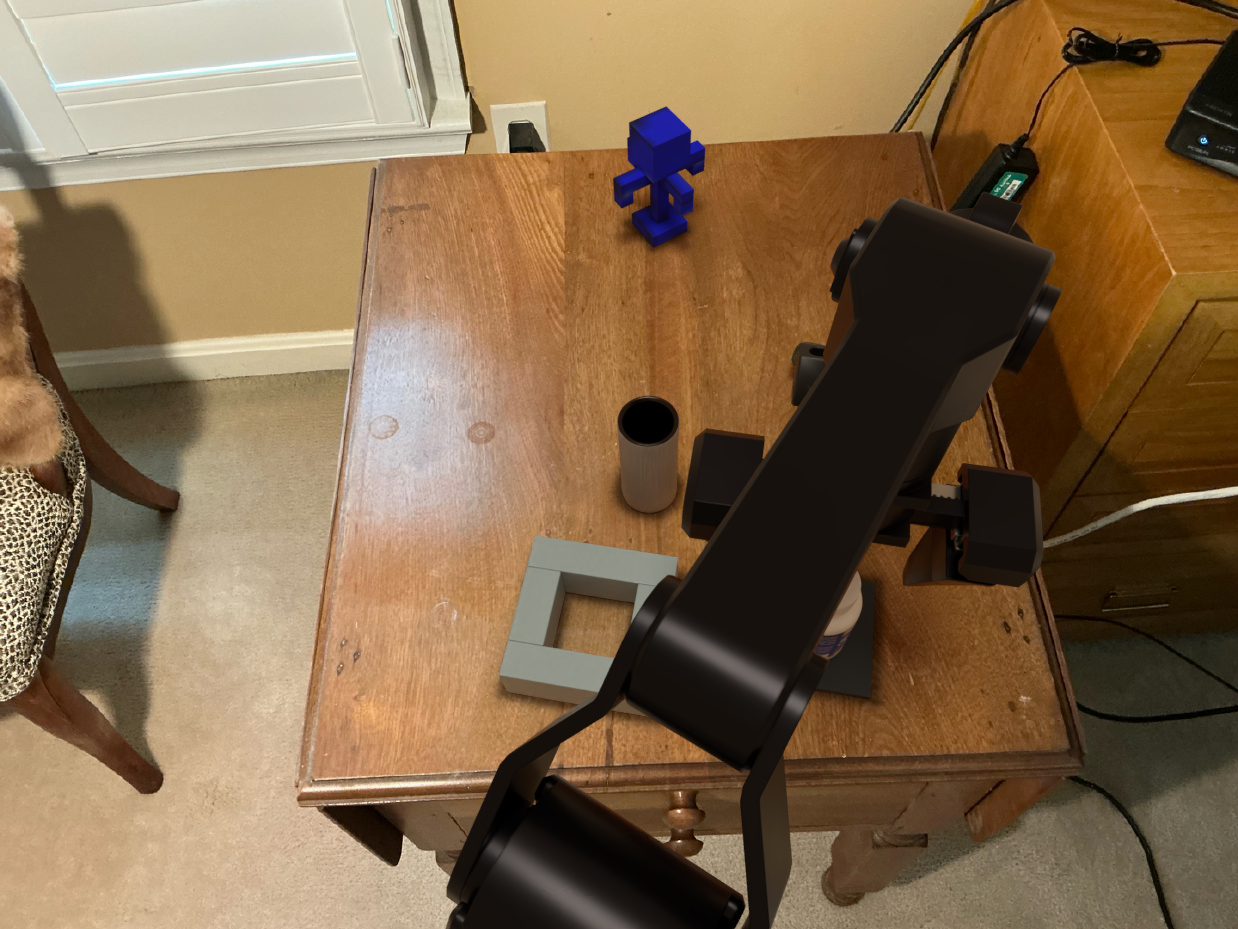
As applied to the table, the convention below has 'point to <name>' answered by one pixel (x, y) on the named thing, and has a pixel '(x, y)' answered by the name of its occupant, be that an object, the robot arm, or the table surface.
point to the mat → (854, 654)
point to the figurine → (660, 174)
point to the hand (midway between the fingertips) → (831, 567)
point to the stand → (539, 608)
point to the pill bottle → (842, 621)
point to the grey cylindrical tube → (648, 452)
